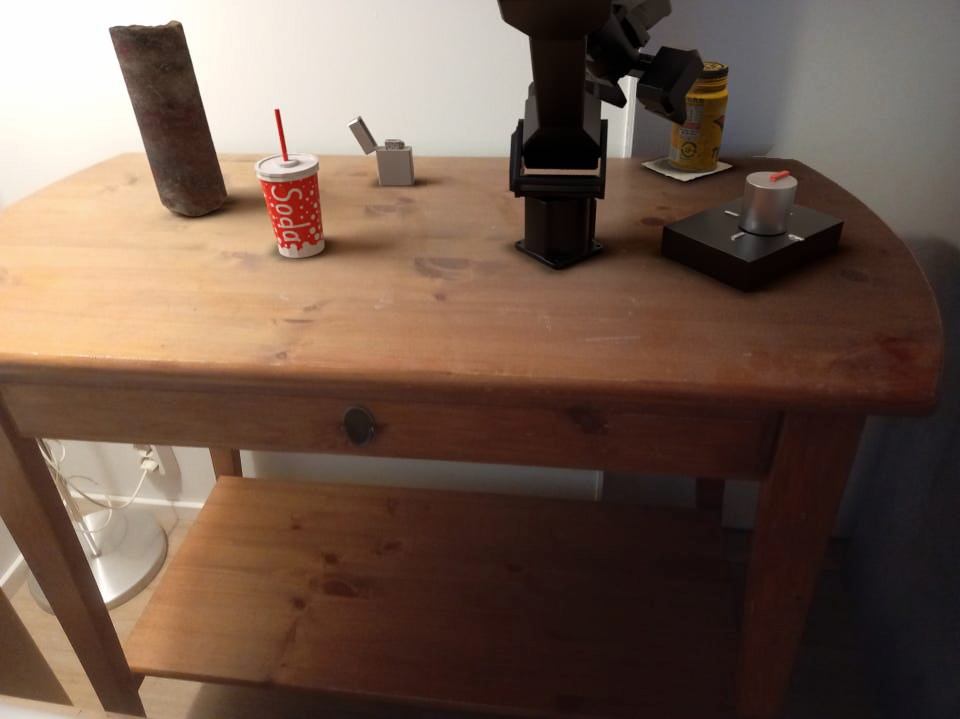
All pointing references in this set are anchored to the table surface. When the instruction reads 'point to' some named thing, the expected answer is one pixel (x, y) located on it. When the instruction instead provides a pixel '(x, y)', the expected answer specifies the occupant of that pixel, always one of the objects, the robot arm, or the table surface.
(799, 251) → the hob panel
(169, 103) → the rough stone core
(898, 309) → the table surface
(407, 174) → the lighter
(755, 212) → the hob knob
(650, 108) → the robot arm
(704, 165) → the condiment
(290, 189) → the beverage cup
